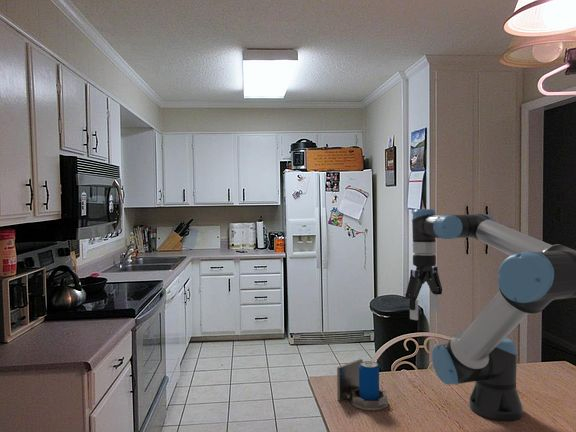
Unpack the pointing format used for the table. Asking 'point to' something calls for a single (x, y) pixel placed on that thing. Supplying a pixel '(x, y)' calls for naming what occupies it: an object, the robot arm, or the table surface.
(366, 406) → the cup bracket
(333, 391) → the table surface
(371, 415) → the table surface
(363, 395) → the beverage can
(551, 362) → the table surface
